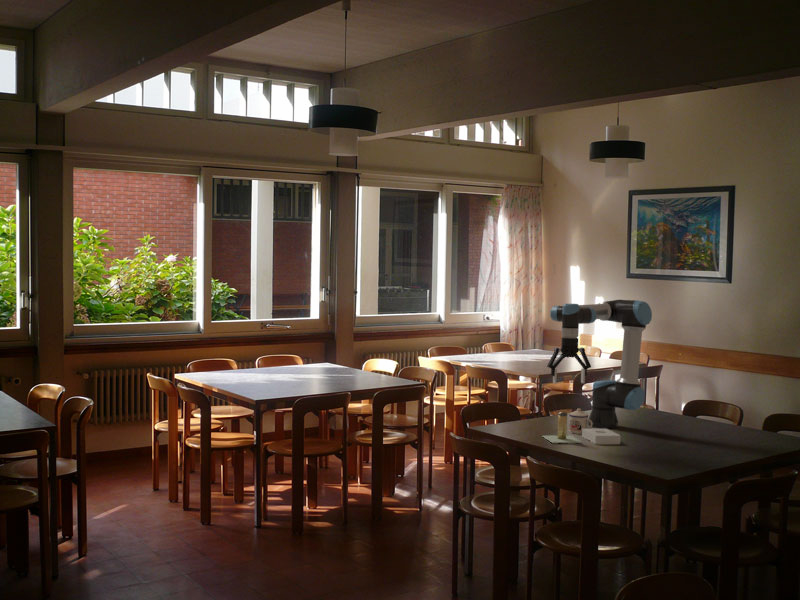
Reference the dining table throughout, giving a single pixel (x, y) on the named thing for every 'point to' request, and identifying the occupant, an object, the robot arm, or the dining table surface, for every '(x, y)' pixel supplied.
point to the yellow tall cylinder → (562, 425)
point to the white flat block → (601, 436)
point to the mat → (568, 440)
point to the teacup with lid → (579, 421)
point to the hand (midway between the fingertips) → (568, 383)
